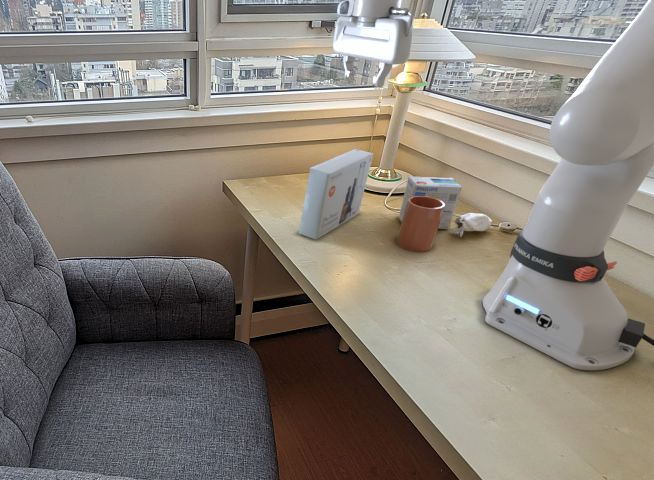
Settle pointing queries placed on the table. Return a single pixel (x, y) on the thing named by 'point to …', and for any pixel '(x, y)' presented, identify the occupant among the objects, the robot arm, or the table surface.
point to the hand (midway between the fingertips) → (362, 82)
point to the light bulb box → (434, 195)
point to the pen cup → (420, 223)
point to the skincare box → (334, 192)
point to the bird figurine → (472, 223)
